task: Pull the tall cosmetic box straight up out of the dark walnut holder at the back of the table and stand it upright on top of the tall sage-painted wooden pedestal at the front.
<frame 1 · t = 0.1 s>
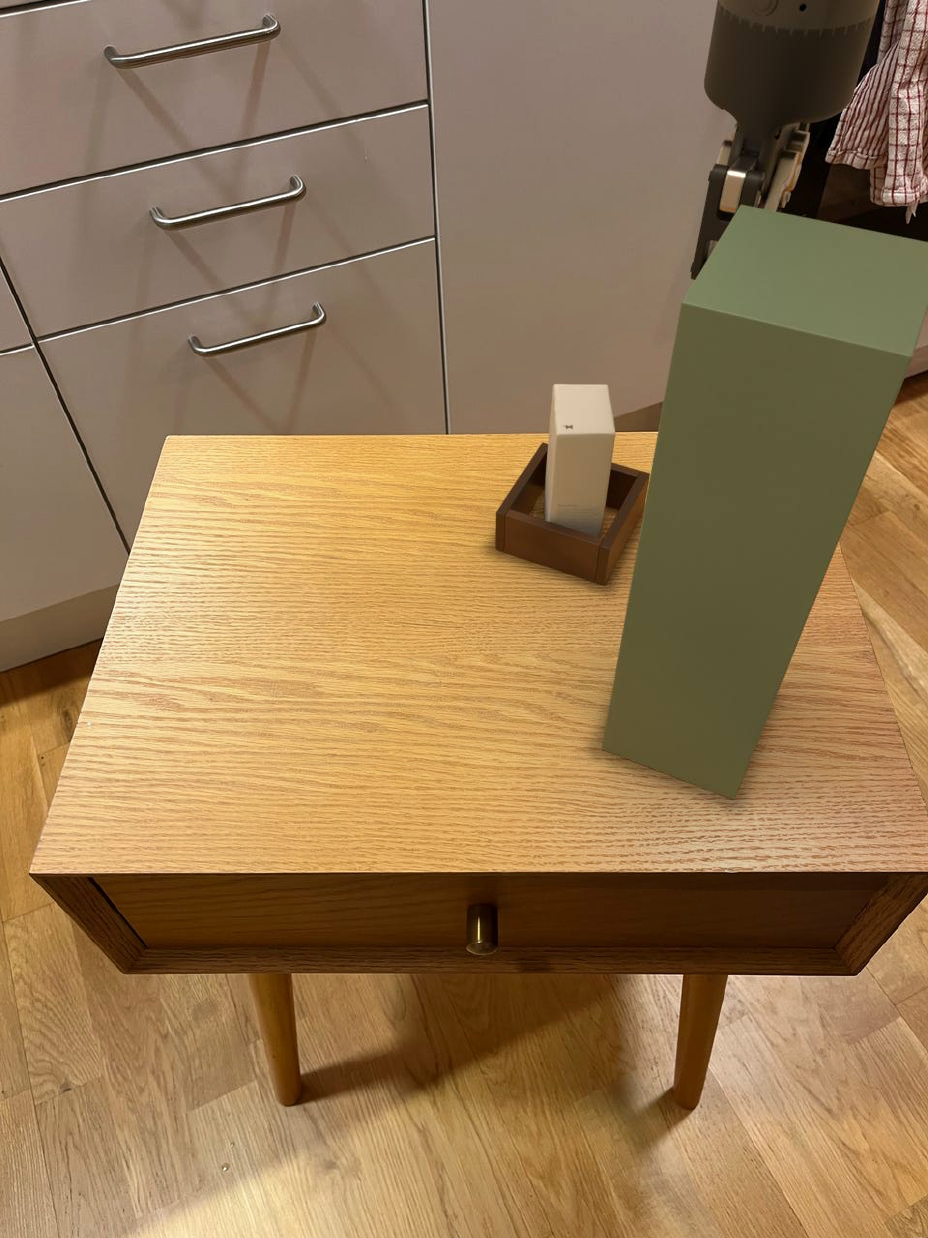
hand: (730, 297, 59), 22 cm above the table, tool pointing down, fingers open, 8 cm apart
pedestal: (687, 722, 65), on the table
cosmetic box: (570, 531, 77), resting in holder
holder: (570, 529, 77), on the table
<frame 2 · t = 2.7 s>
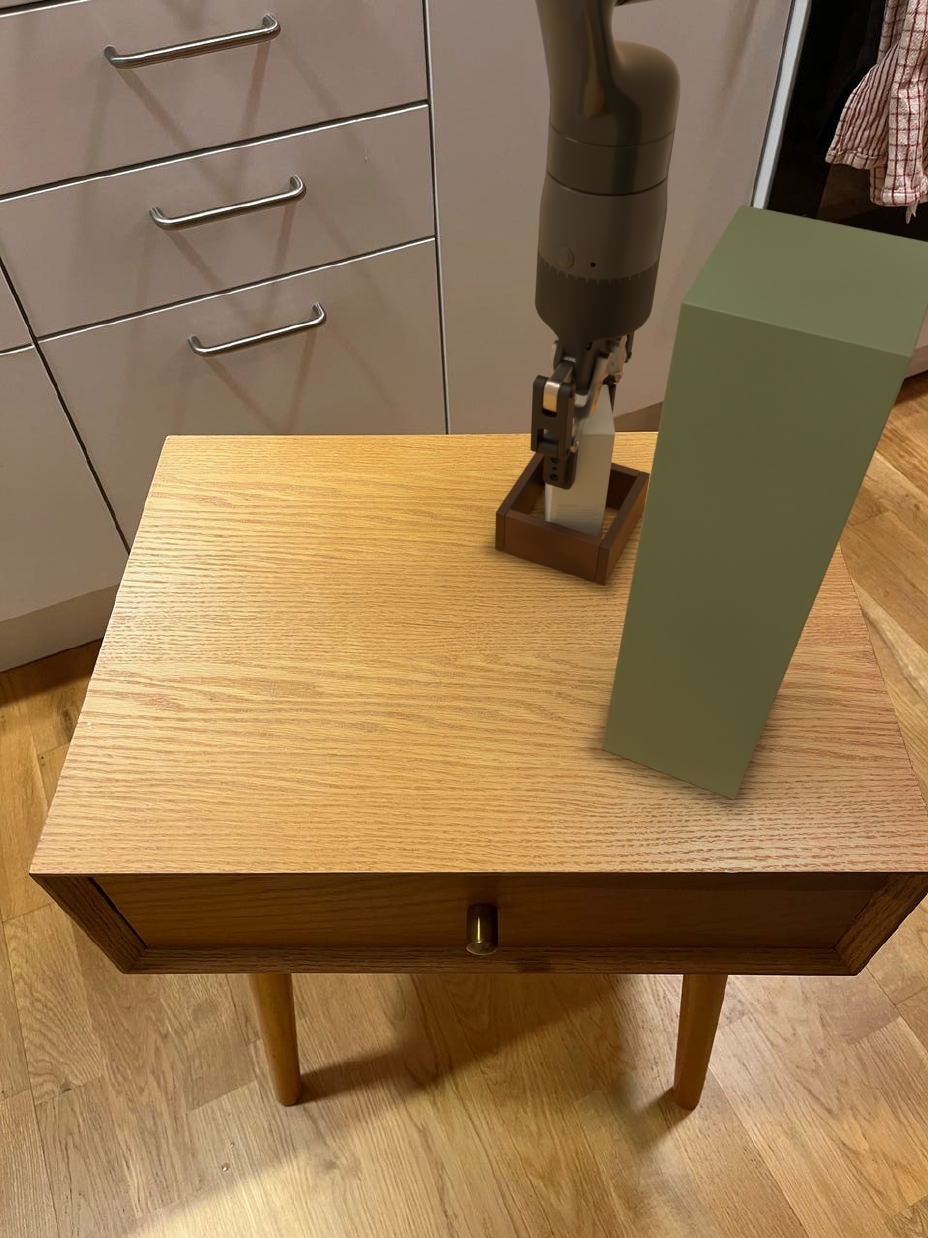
hand: (577, 452, 71), 8 cm above the table, tool pointing down, fingers closed on cosmetic box, 7 cm apart
cosmetic box: (570, 531, 77), resting in holder, touching gripper
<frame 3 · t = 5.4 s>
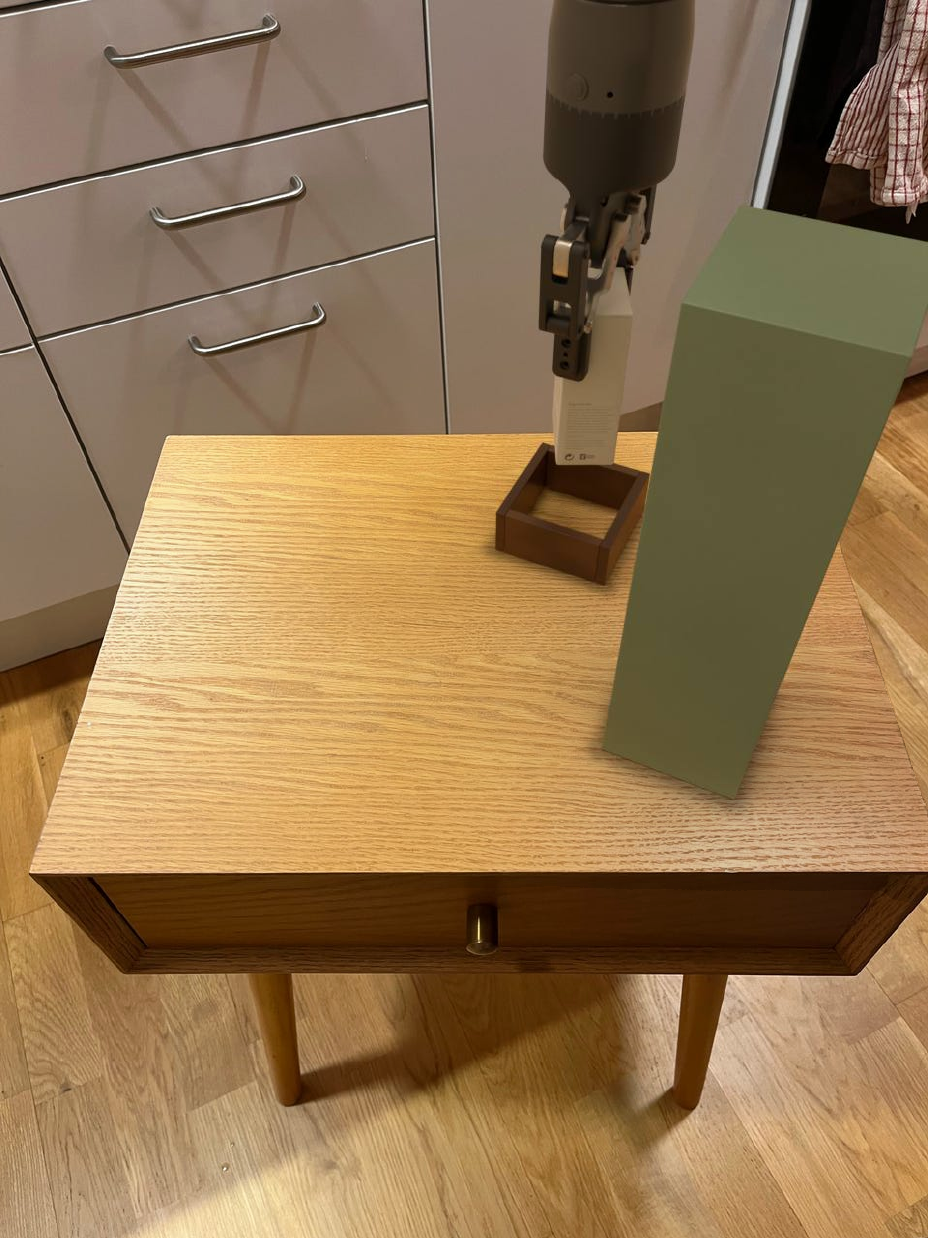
hand: (590, 344, 64), 17 cm above the table, tool pointing down, fingers closed on cosmetic box, 7 cm apart
cosmetic box: (582, 441, 70), point 9 cm above the table, touching gripper
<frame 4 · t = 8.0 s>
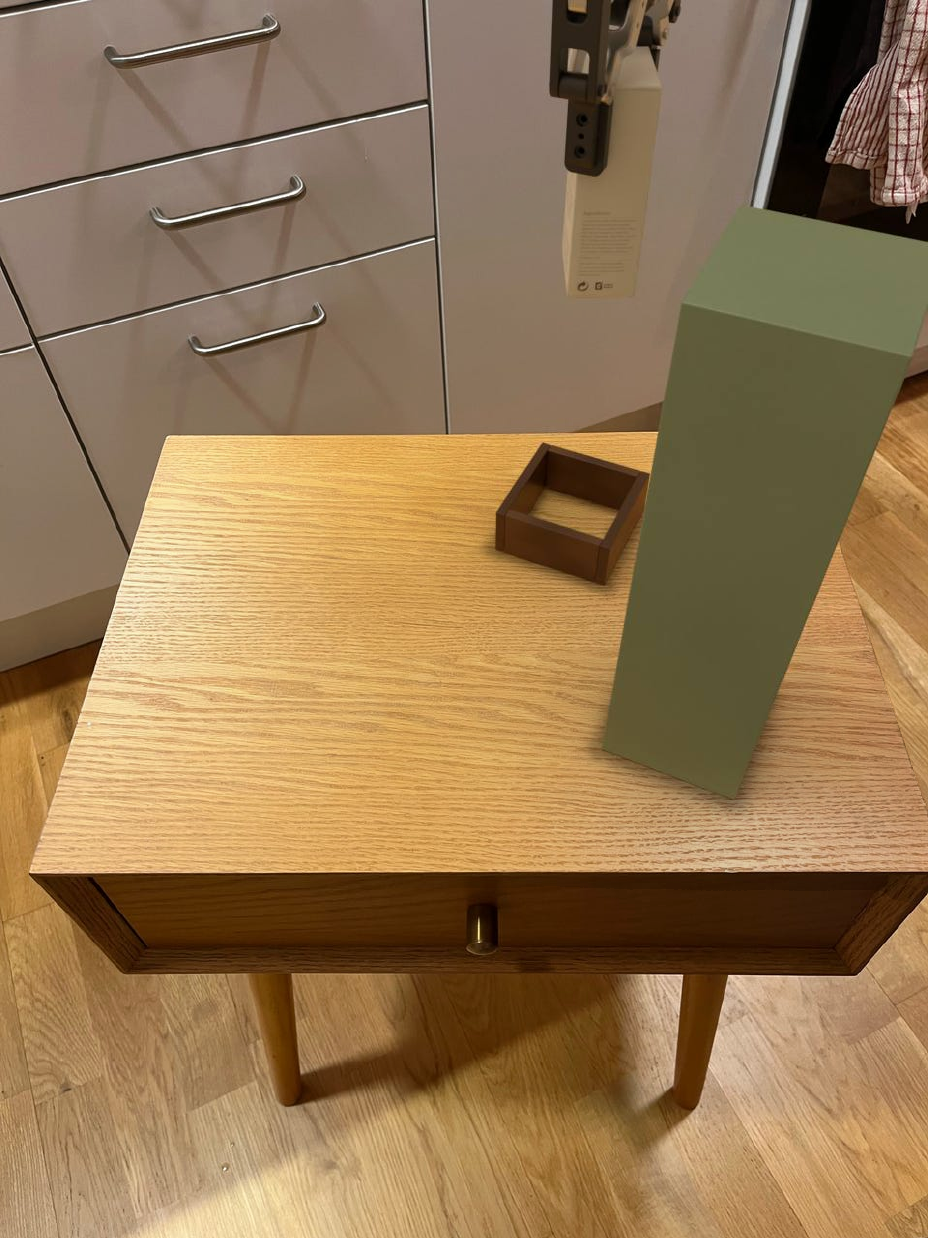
hand: (609, 142, 54), 30 cm above the table, tool pointing down, fingers closed on cosmetic box, 7 cm apart
cosmetic box: (597, 276, 60), point 22 cm above the table, touching gripper
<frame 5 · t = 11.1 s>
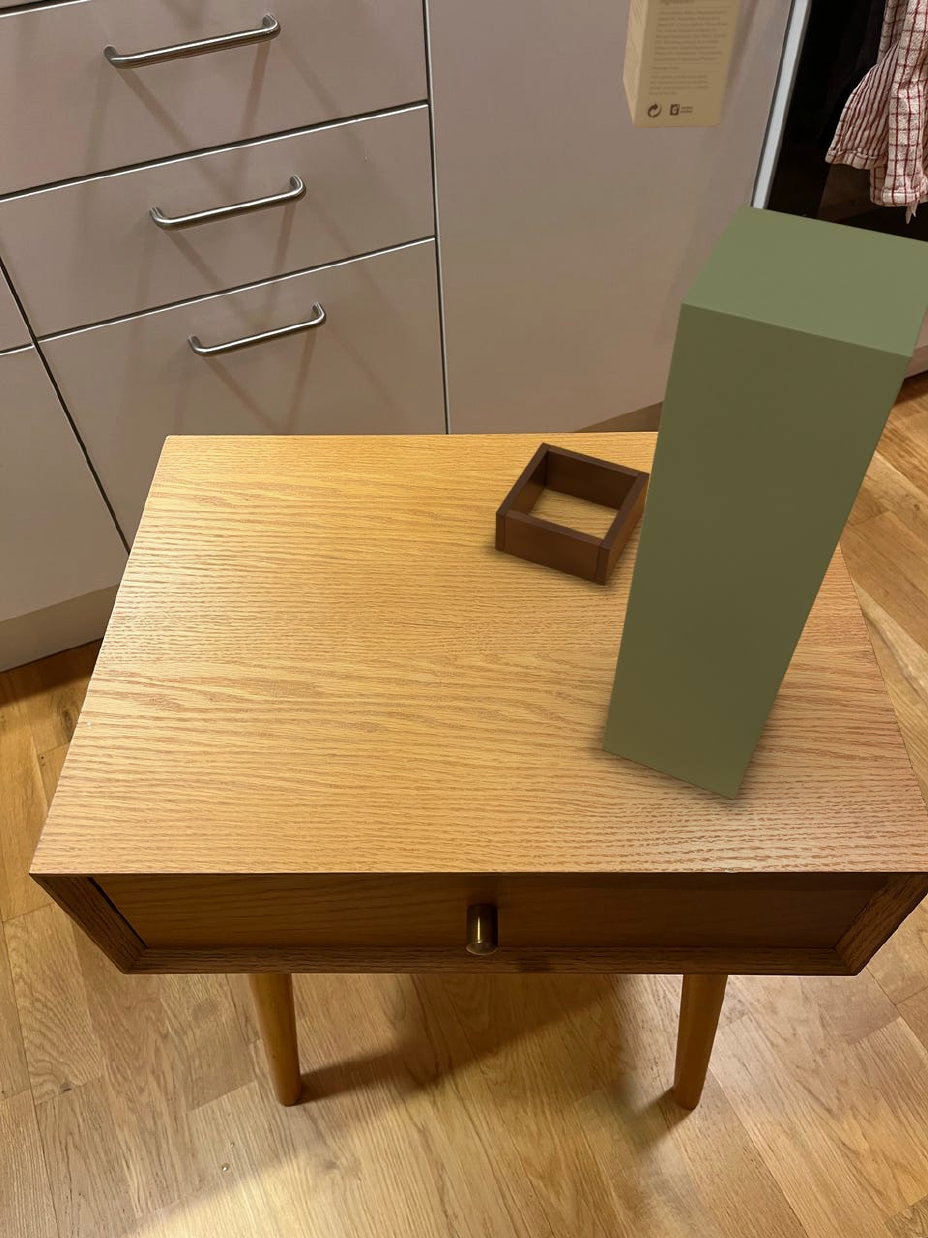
cosmetic box: (668, 108, 48), point 34 cm above the table, touching gripper
when the fingers open (41 cm above the table, at t = 13.6 s): cosmetic box stays where it is, resting on pedestal.
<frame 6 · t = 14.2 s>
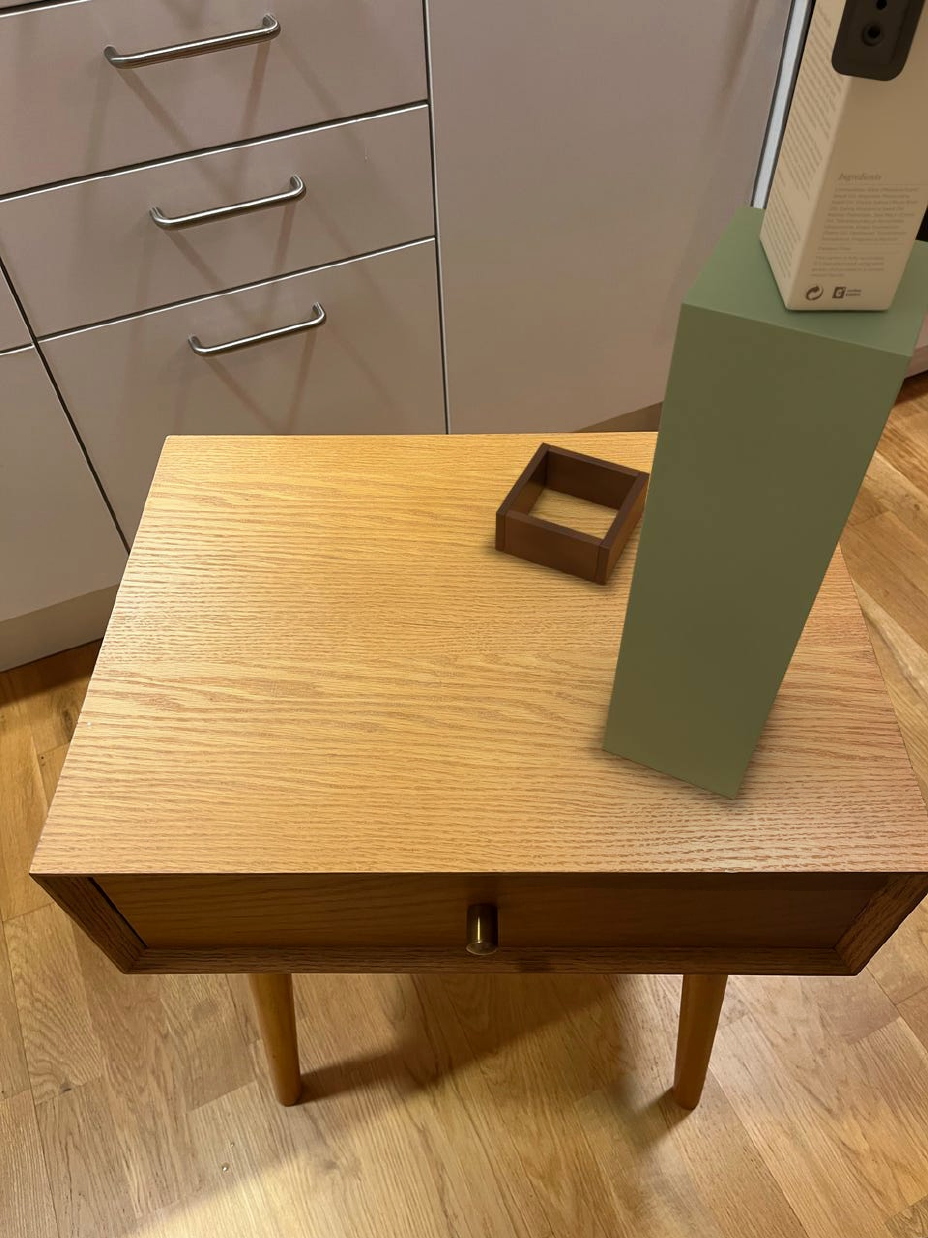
hand: (888, 29, 33), 42 cm above the table, tool pointing down, fingers open, 8 cm apart
cosmetic box: (819, 277, 40), point 33 cm above the table, touching pedestal
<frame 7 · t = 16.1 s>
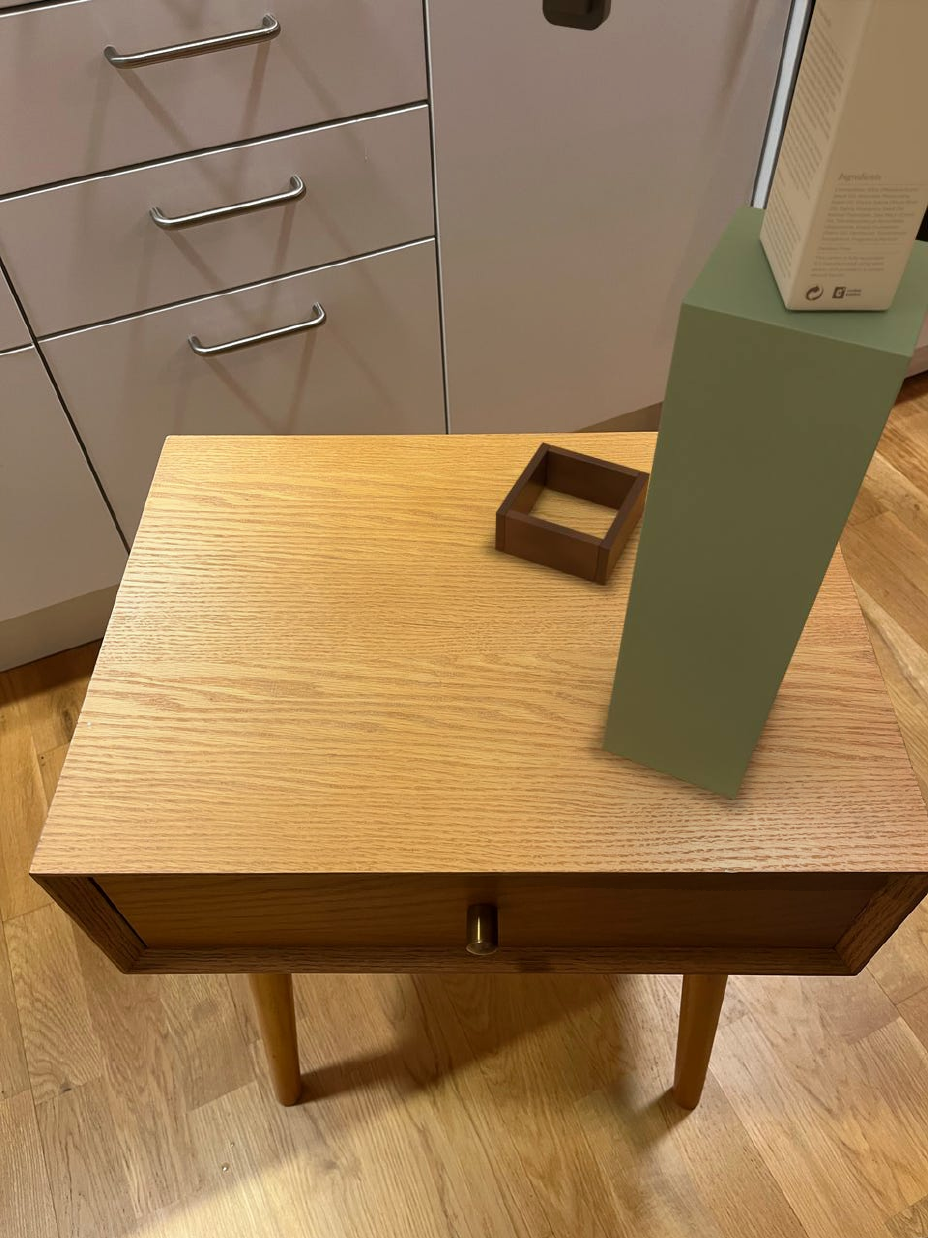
nothing on the table moved.
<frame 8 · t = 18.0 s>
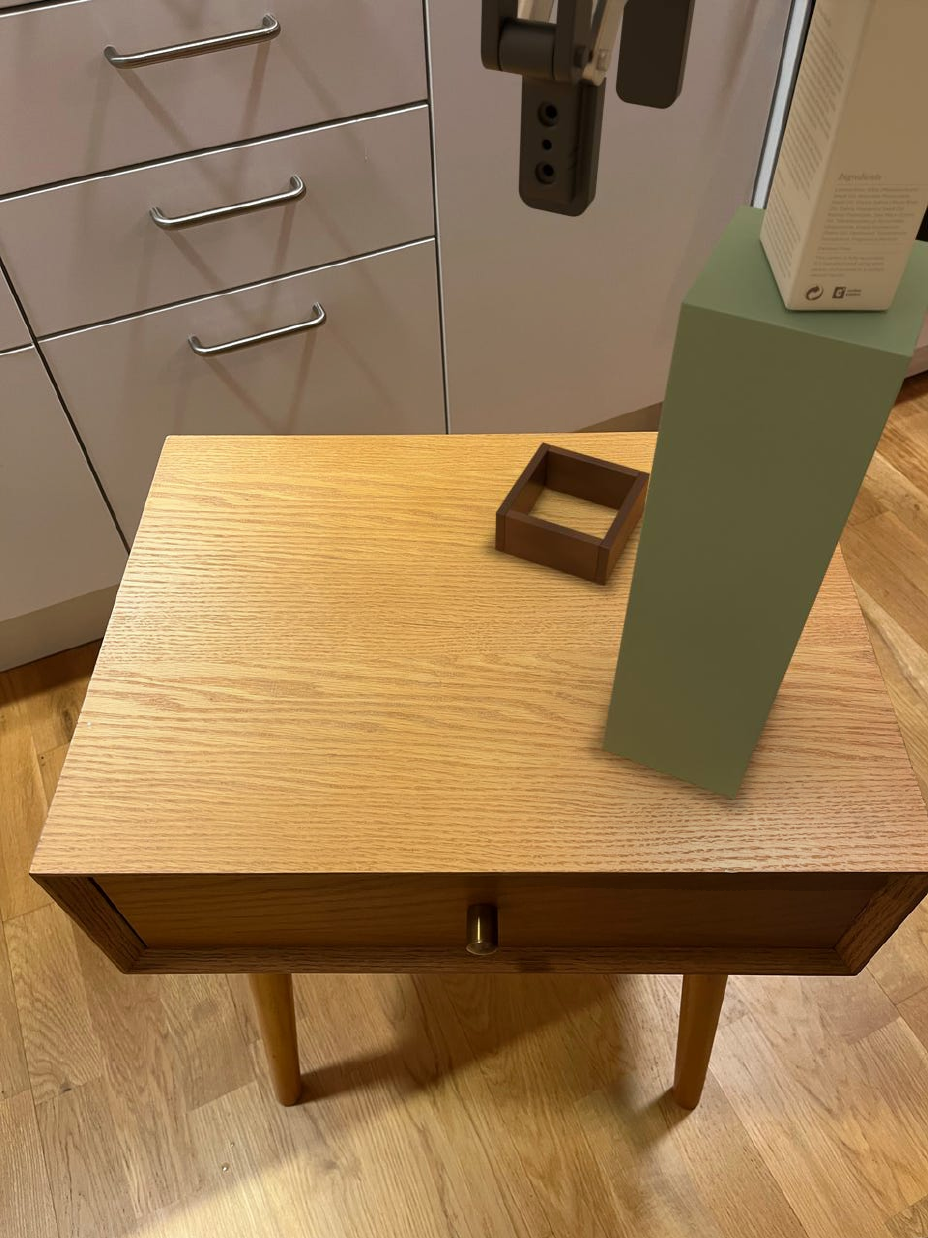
hand: (605, 150, 32), 40 cm above the table, tool pointing down, fingers open, 8 cm apart
nothing on the table moved.
at the end: cosmetic box inside the target area on the pedestal (0.1 cm from its centre), point 32.8 cm above the pedestal's base; cosmetic box tilted 0°; the gripper is holding nothing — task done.
